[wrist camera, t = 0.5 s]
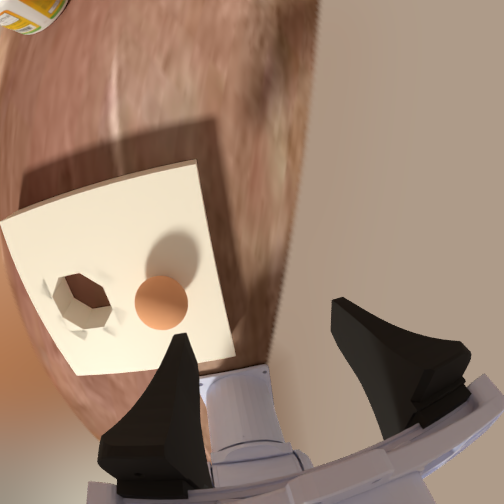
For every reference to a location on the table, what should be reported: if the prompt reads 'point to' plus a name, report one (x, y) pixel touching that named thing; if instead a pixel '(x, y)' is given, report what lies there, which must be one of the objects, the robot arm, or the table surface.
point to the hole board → (122, 267)
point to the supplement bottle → (29, 14)
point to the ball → (161, 303)
